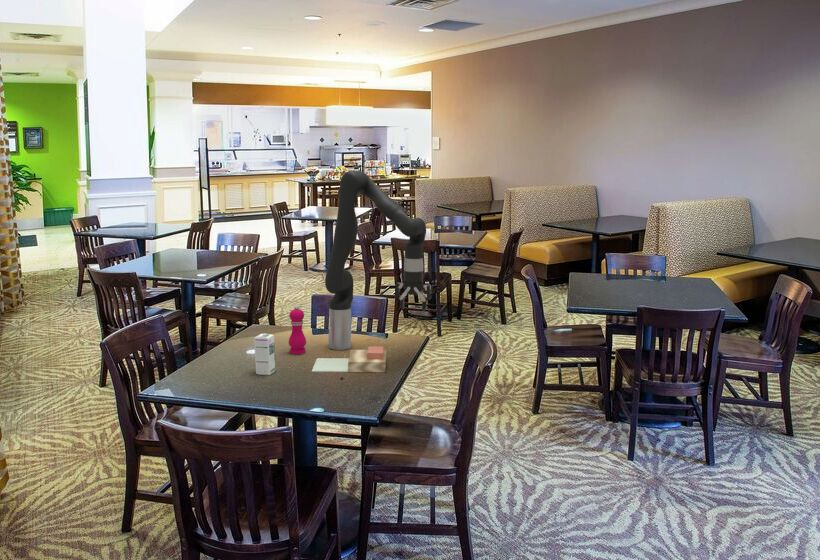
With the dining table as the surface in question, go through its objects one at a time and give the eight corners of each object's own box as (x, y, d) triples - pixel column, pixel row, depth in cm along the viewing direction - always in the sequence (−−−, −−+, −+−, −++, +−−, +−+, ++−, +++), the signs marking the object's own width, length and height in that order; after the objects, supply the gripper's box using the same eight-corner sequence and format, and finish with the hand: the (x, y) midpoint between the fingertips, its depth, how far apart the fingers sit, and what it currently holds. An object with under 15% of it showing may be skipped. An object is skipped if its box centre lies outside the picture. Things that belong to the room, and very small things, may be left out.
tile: (367, 359, 264) (367, 353, 263) (368, 352, 273) (368, 346, 272) (382, 359, 264) (382, 353, 264) (383, 352, 273) (383, 346, 272)
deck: (348, 372, 261) (348, 362, 260) (351, 359, 277) (351, 349, 276) (385, 372, 261) (385, 362, 261) (386, 359, 277) (386, 350, 276)
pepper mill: (308, 350, 289) (307, 303, 285) (304, 355, 282) (302, 307, 278) (291, 349, 290) (290, 303, 286) (286, 354, 282) (285, 307, 279)
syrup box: (270, 375, 257) (268, 337, 254) (255, 374, 258) (253, 336, 255) (276, 370, 262) (274, 333, 260) (261, 369, 263) (260, 332, 261)
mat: (311, 371, 261) (311, 370, 261) (317, 359, 277) (317, 358, 277) (347, 372, 261) (347, 371, 261) (350, 359, 277) (350, 358, 277)
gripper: (393, 269, 268) (393, 310, 271) (429, 271, 264) (428, 313, 267) (398, 266, 275) (398, 306, 278) (433, 268, 271) (432, 308, 274)
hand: (413, 309), depth 273 cm, fingers open, 8 cm apart
